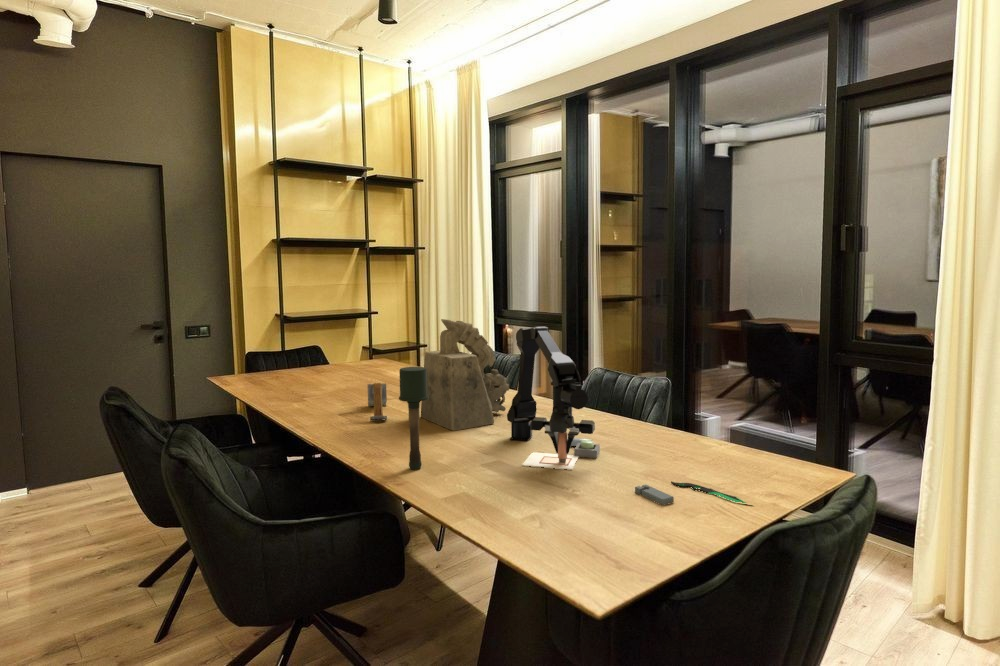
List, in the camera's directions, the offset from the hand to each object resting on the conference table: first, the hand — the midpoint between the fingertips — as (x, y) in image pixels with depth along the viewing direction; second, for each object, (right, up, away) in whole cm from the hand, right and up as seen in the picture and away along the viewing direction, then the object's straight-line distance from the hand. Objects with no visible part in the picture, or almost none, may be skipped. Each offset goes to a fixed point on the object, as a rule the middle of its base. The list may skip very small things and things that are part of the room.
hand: (562, 453), depth 184 cm
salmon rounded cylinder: (0, -3, 0) cm, 2 cm away
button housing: (+9, -2, +10) cm, 13 cm away
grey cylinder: (+7, -1, +18) cm, 19 cm away
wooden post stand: (-69, +2, +69) cm, 98 cm away
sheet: (-3, -3, +3) cm, 5 cm away
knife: (+36, -6, -25) cm, 44 cm away
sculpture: (-30, +2, +59) cm, 66 cm away
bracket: (+21, -7, -27) cm, 35 cm away
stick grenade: (-44, -4, -3) cm, 44 cm away
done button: (+9, -1, +10) cm, 13 cm away
